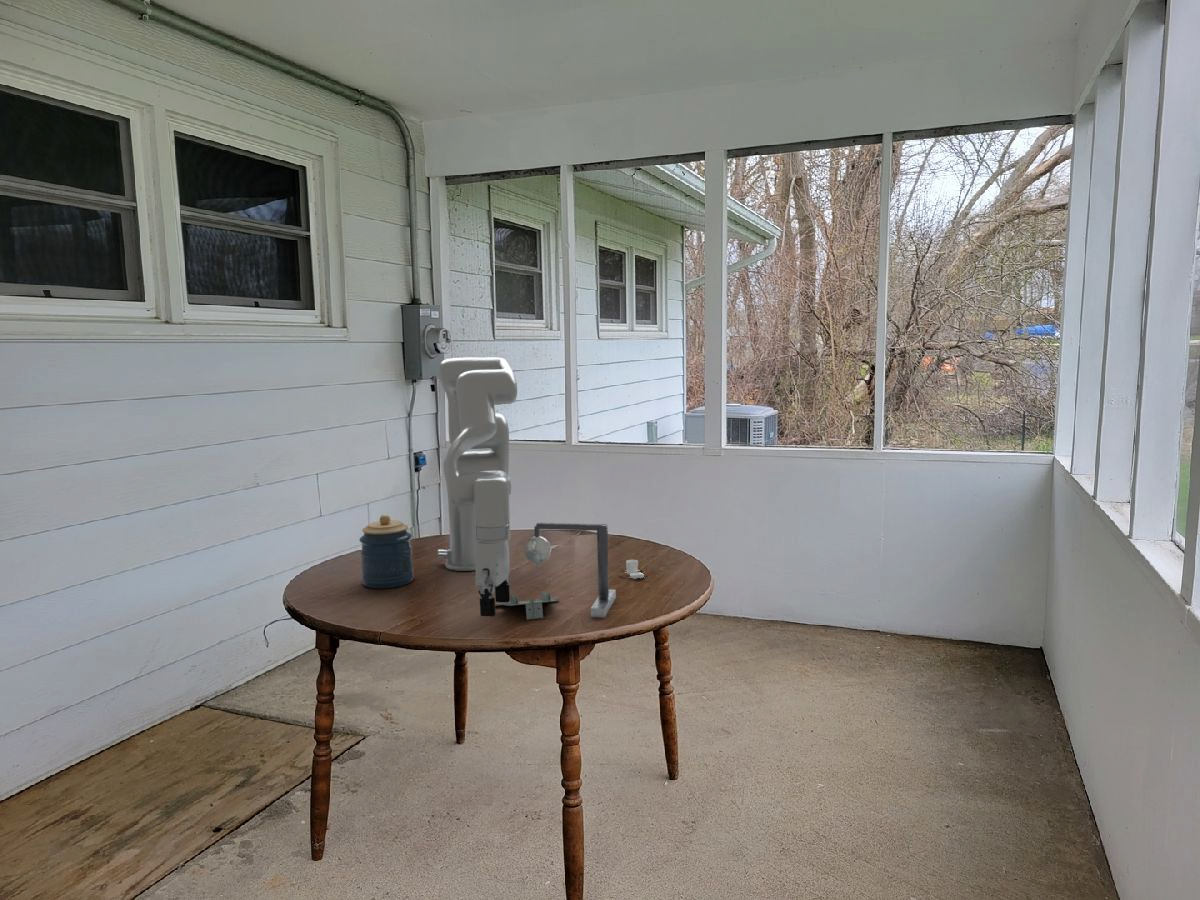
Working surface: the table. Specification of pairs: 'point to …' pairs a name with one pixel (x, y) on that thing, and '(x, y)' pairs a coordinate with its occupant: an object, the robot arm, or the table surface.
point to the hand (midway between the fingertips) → (495, 608)
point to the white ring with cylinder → (633, 569)
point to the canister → (386, 554)
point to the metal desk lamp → (540, 550)
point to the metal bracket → (531, 605)
